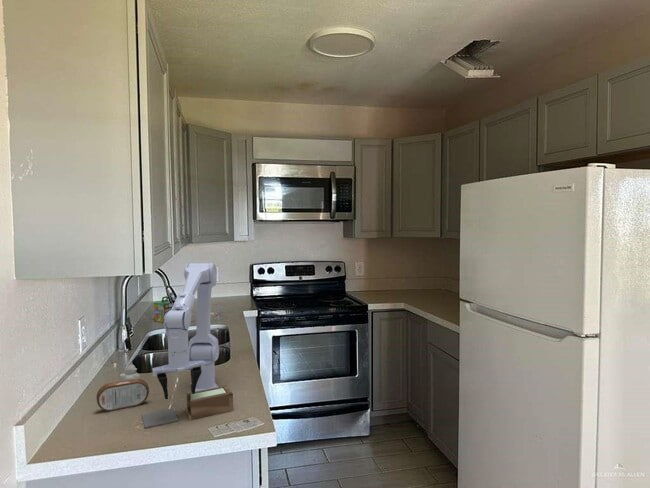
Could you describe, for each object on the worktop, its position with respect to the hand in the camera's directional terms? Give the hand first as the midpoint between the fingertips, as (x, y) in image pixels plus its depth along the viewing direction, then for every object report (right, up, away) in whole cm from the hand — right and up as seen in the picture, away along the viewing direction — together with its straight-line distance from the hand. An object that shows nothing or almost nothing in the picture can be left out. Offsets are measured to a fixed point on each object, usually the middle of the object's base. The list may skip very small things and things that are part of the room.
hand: (179, 395), depth 126 cm
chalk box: (-53, -1, +126) cm, 137 cm away
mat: (-6, -7, 0) cm, 9 cm away
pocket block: (+7, -6, +4) cm, 11 cm away
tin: (-20, -7, +8) cm, 23 cm away
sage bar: (+7, -3, +4) cm, 9 cm away
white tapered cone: (-28, -6, +28) cm, 39 cm away
